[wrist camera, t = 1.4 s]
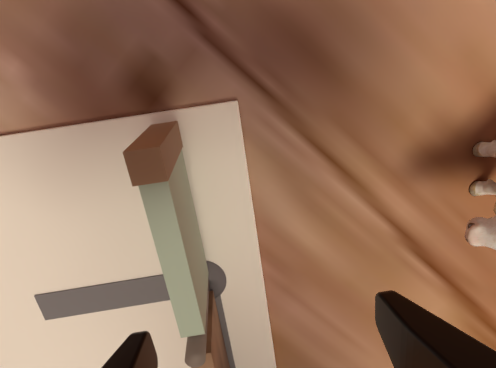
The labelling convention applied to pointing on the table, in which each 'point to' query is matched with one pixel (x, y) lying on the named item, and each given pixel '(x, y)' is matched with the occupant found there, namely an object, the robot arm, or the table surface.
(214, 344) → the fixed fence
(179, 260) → the swing panel
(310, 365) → the table surface
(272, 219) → the table surface
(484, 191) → the bull figurine
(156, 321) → the card
